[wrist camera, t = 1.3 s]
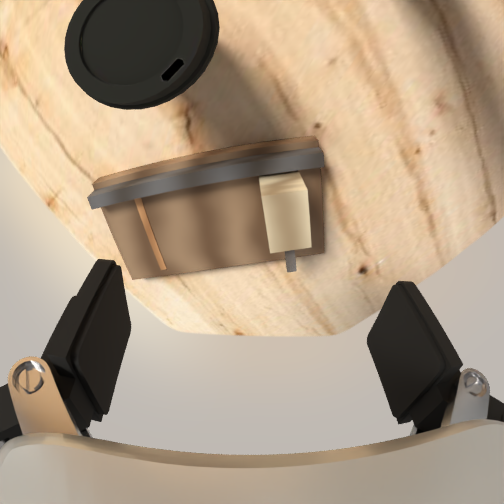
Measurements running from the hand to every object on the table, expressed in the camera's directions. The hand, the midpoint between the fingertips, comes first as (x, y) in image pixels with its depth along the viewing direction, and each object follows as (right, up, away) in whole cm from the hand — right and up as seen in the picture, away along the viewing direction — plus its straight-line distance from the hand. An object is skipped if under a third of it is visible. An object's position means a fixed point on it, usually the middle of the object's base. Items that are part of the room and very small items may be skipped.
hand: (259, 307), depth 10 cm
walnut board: (-5, +7, +25) cm, 27 cm away
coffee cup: (-7, +22, +15) cm, 28 cm away
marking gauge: (+3, +6, +24) cm, 25 cm away
